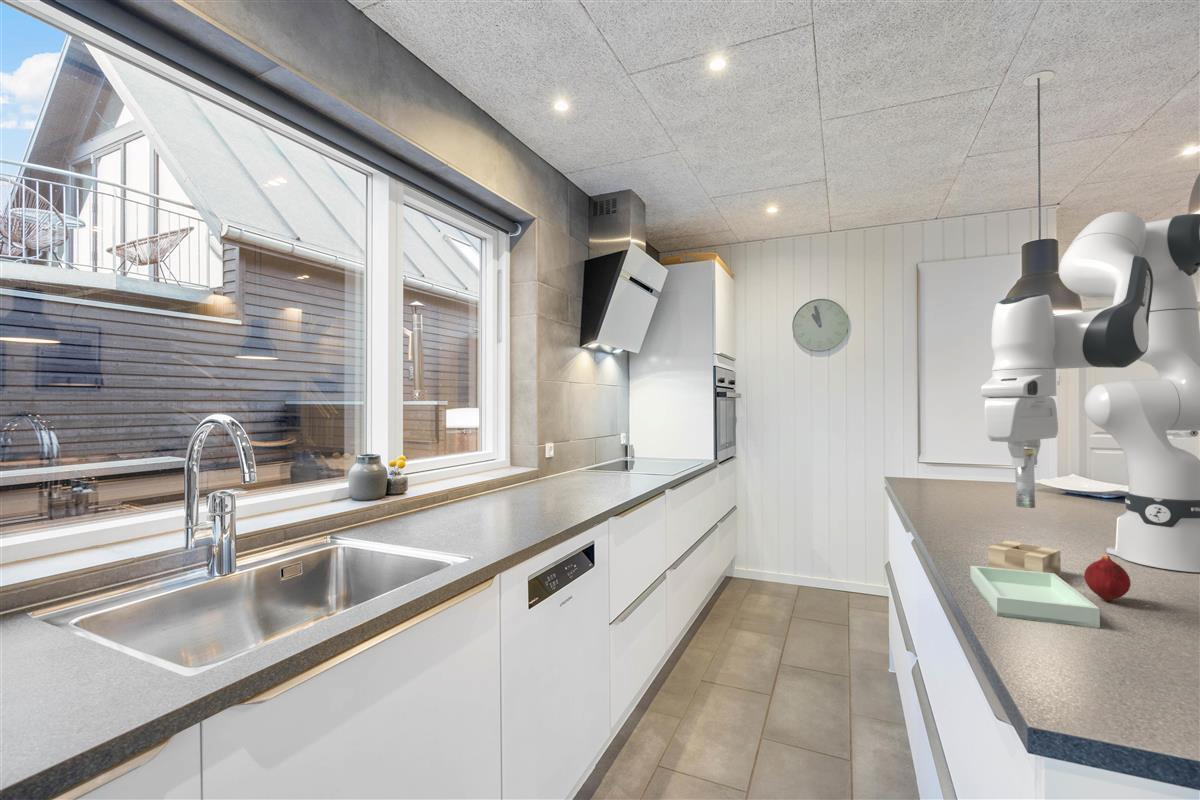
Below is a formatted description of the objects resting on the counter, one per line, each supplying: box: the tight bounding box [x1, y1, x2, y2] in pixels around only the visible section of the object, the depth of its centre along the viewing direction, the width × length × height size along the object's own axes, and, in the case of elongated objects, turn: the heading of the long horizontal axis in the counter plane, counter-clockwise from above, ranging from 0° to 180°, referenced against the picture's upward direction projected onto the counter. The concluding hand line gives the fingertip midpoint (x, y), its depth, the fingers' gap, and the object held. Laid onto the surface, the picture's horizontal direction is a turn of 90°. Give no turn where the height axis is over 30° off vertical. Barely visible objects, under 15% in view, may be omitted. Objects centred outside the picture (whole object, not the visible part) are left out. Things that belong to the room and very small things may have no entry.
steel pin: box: [1014, 449, 1036, 509], centre depth 93 cm, size 3×3×10 cm
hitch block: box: [987, 540, 1062, 577], centre depth 108 cm, size 9×9×5 cm
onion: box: [1083, 553, 1132, 602], centre depth 93 cm, size 6×6×8 cm
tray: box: [970, 565, 1101, 629], centre depth 93 cm, size 18×13×3 cm
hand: (1024, 466), depth 93 cm, fingers closed on steel pin, 3 cm apart
